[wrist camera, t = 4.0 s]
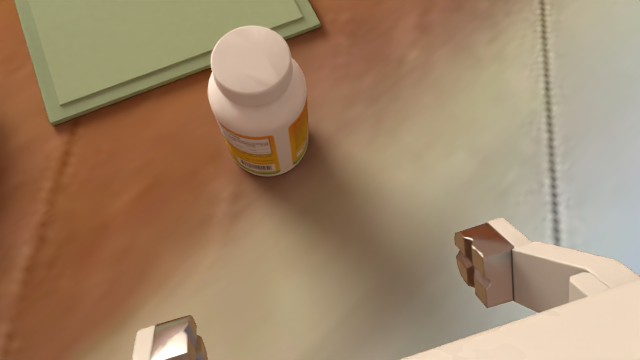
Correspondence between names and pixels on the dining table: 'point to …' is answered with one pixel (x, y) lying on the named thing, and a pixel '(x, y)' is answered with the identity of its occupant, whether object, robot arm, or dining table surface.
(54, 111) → the placemat
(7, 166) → the dining table surface
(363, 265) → the dining table surface
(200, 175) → the dining table surface
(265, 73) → the supplement bottle
